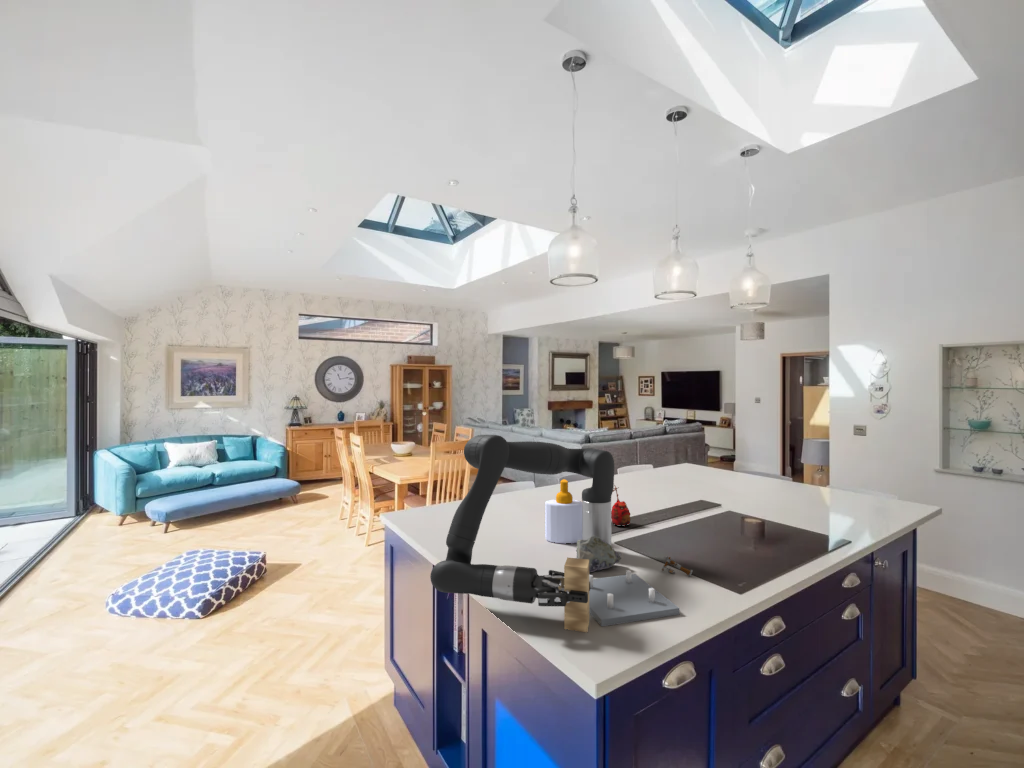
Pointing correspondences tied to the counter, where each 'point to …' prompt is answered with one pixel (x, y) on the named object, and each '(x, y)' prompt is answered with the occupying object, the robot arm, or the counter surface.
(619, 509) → the red clay folk toy
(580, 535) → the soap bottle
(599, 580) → the peg board
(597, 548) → the mineral rock
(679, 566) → the orange grey jointed piece
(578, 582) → the oak post
